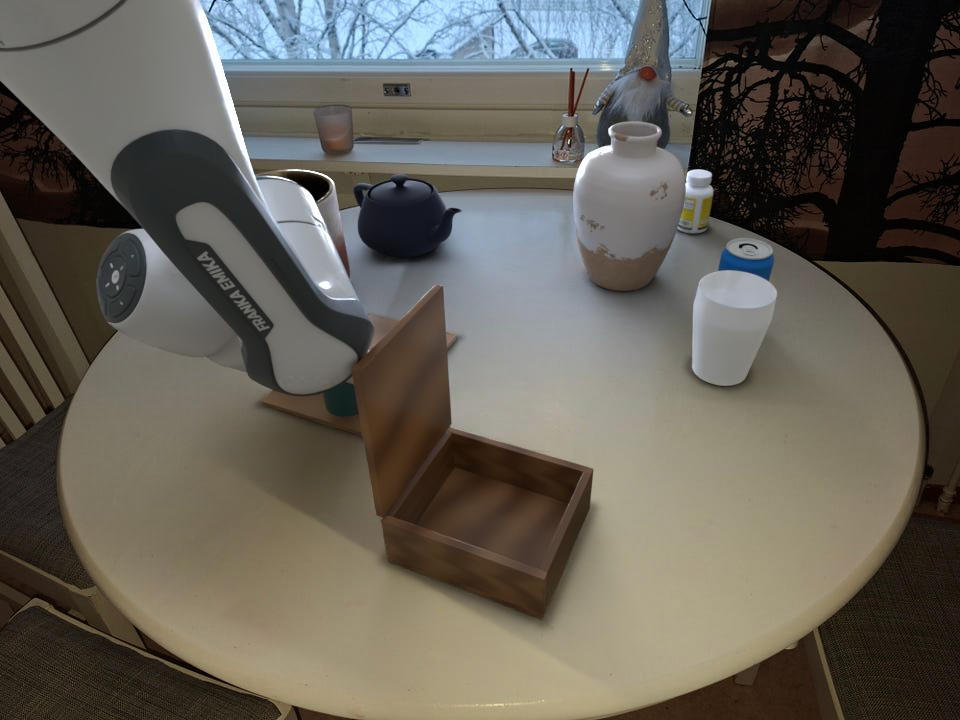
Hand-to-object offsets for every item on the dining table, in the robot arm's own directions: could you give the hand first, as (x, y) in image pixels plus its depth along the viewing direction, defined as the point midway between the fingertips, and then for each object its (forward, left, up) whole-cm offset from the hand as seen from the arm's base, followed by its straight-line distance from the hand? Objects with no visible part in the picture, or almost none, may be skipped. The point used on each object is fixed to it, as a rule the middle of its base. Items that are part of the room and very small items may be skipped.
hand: (344, 358), depth 77 cm
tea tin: (-1, 0, -6) cm, 6 cm away
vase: (+43, -21, -8) cm, 49 cm away
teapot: (+40, +15, -8) cm, 44 cm away
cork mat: (+7, +3, -8) cm, 11 cm away
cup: (+24, -39, -8) cm, 47 cm away
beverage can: (+35, -39, -8) cm, 53 cm away
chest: (-11, -23, -8) cm, 26 cm away
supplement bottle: (+64, -28, -8) cm, 71 cm away
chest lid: (-11, -16, +7) cm, 20 cm away
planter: (+21, +25, -8) cm, 34 cm away
